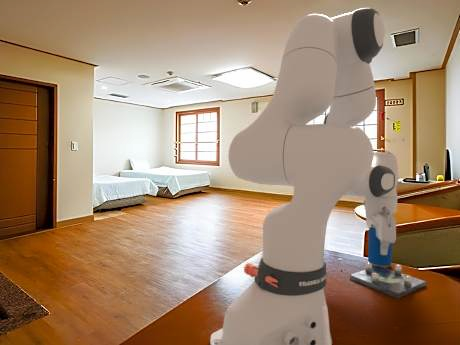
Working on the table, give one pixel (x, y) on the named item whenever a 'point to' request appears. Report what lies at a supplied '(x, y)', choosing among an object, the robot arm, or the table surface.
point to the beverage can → (378, 250)
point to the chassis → (388, 280)
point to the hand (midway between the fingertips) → (379, 249)
